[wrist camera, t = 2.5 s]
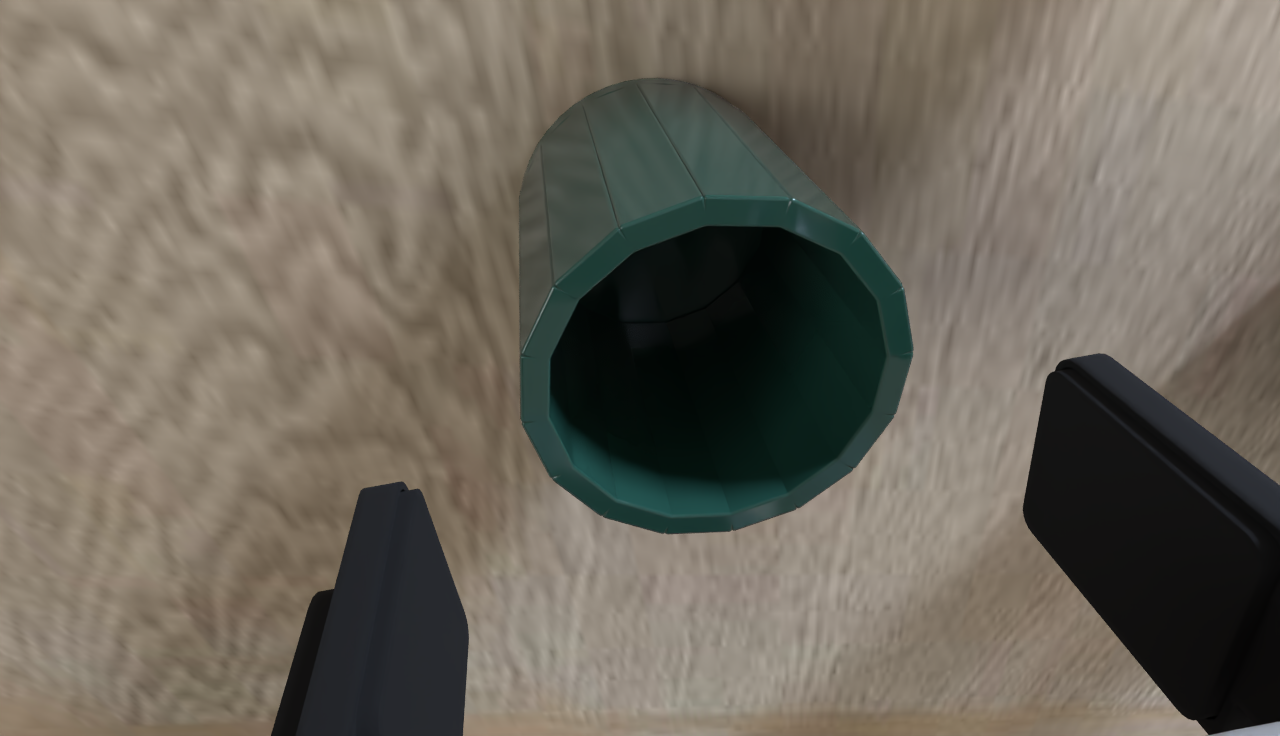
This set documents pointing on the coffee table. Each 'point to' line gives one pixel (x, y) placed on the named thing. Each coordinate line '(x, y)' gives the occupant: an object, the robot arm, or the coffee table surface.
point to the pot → (696, 316)
